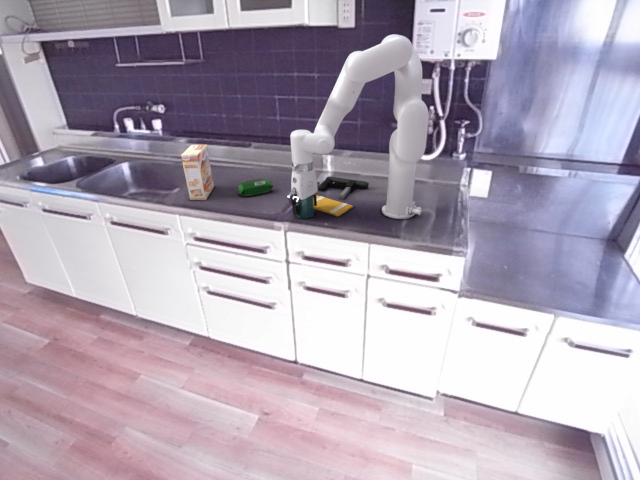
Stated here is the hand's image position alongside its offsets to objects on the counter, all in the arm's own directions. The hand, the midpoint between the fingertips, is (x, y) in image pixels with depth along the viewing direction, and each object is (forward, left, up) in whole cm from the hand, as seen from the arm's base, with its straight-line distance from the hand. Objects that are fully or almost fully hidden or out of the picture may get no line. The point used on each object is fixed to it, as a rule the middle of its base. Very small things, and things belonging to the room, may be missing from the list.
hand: (305, 209), depth 142 cm
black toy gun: (+2, -27, -2) cm, 27 cm away
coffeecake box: (+50, +10, -2) cm, 51 cm away
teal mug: (+1, 0, -2) cm, 2 cm away
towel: (-2, -10, -2) cm, 11 cm away
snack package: (+31, -4, -2) cm, 31 cm away
